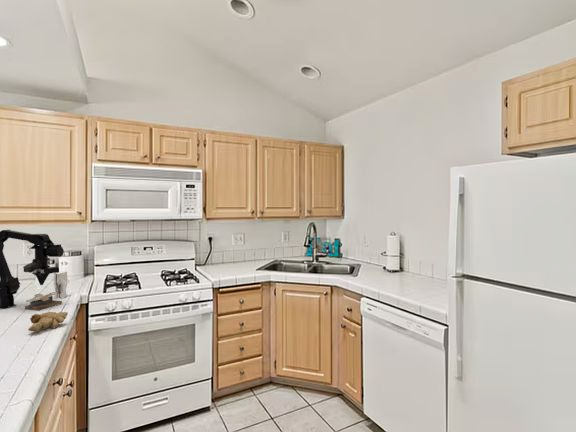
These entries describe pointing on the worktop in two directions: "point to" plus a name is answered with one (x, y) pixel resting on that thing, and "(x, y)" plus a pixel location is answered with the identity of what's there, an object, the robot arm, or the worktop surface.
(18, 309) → the worktop surface
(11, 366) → the worktop surface
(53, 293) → the far rocker
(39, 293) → the middle rocker
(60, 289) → the beer glass
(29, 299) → the near rocker
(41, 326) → the ginger root
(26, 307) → the switch unit
